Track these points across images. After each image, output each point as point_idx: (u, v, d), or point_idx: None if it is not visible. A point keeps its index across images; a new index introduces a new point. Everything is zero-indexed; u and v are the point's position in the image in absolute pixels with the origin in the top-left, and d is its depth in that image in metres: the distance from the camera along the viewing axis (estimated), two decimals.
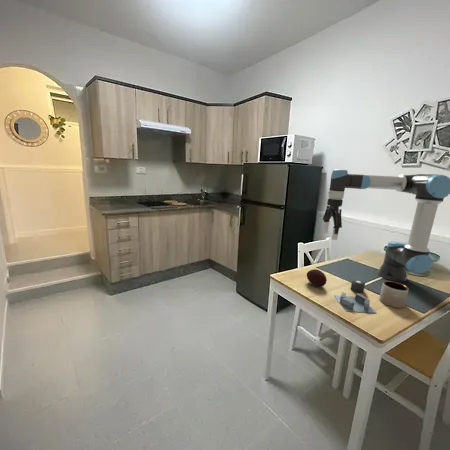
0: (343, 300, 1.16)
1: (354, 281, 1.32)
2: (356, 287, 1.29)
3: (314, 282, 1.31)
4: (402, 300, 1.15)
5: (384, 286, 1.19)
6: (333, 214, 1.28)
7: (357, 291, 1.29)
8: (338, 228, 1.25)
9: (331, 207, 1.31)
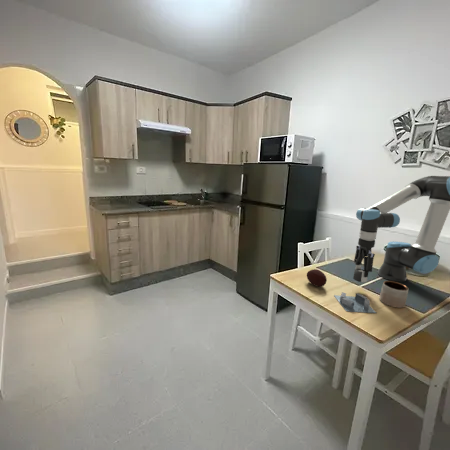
0: (343, 300, 1.16)
1: (357, 270, 1.30)
2: (358, 276, 1.28)
3: (314, 282, 1.31)
4: (402, 300, 1.15)
5: (384, 286, 1.19)
6: (364, 256, 1.25)
7: (360, 280, 1.28)
8: (368, 272, 1.24)
9: (362, 247, 1.27)
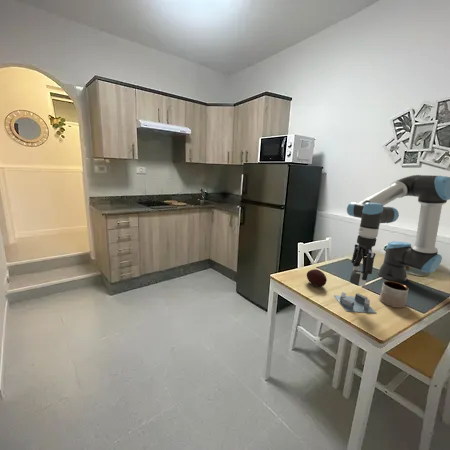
0: (343, 300, 1.16)
1: (354, 272, 1.15)
2: (356, 279, 1.12)
3: (314, 282, 1.31)
4: (402, 300, 1.15)
5: (384, 286, 1.19)
6: None
7: (358, 283, 1.12)
8: (367, 274, 1.08)
9: (362, 246, 1.11)
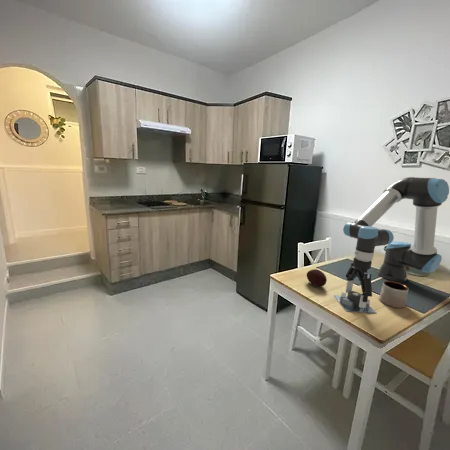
0: (343, 300, 1.16)
1: (350, 293, 1.17)
2: (352, 300, 1.15)
3: (314, 282, 1.31)
4: (402, 300, 1.15)
5: (384, 286, 1.19)
6: (361, 278, 1.11)
7: (354, 305, 1.15)
8: (367, 296, 1.07)
9: (357, 268, 1.14)
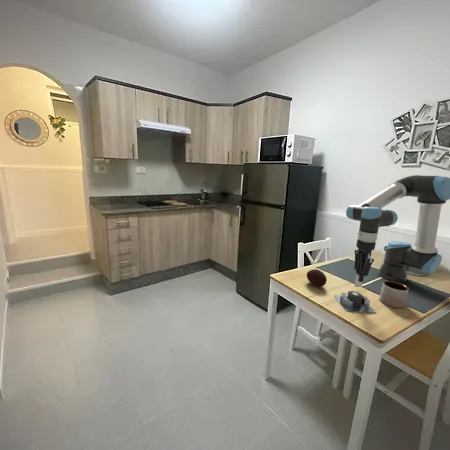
0: (343, 300, 1.16)
1: (350, 293, 1.17)
2: (352, 300, 1.15)
3: (314, 282, 1.31)
4: (402, 300, 1.15)
5: (384, 286, 1.19)
6: (362, 260, 1.10)
7: (354, 304, 1.15)
8: (363, 276, 1.12)
9: (361, 250, 1.12)
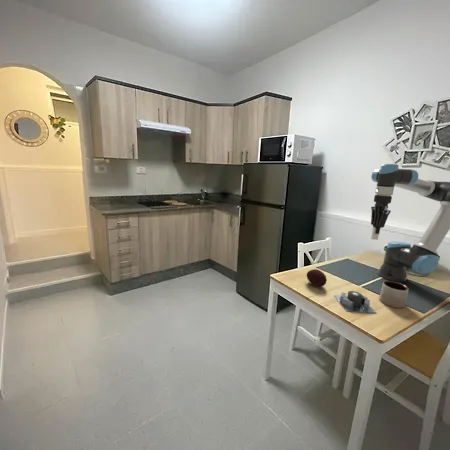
0: (343, 300, 1.16)
1: (350, 293, 1.17)
2: (352, 300, 1.15)
3: (314, 282, 1.31)
4: (402, 300, 1.15)
5: (384, 286, 1.19)
6: (379, 213, 1.22)
7: (354, 305, 1.15)
8: (379, 228, 1.24)
9: (378, 204, 1.23)
